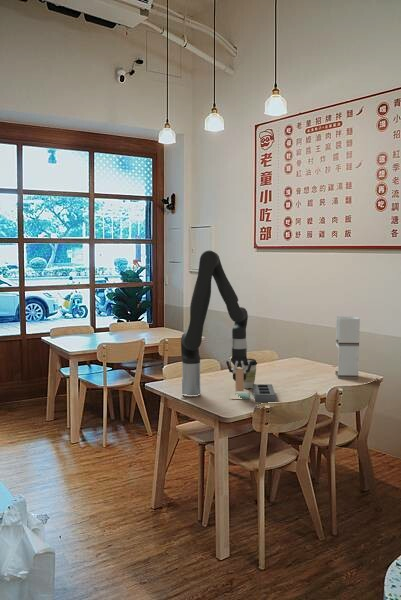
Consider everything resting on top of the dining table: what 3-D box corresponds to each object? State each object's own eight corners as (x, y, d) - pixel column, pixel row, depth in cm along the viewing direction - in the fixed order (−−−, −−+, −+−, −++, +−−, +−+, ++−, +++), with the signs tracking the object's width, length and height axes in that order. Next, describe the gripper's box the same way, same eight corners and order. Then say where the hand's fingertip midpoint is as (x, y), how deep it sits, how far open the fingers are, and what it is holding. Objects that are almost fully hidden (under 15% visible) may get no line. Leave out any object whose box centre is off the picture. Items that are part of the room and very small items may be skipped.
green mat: (229, 399, 267) (229, 398, 267) (229, 394, 277) (229, 393, 277) (249, 399, 267) (249, 398, 267) (248, 394, 277) (248, 393, 277)
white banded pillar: (354, 374, 318) (356, 316, 315) (358, 379, 308) (359, 318, 304) (335, 374, 319) (336, 316, 316) (338, 378, 309) (339, 318, 305)
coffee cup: (242, 390, 285) (242, 362, 283) (236, 385, 294) (236, 358, 293) (259, 388, 287) (260, 361, 286) (253, 384, 297) (253, 357, 295)
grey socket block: (255, 402, 262) (255, 394, 262) (252, 391, 282) (252, 384, 281) (275, 402, 262) (275, 394, 261) (271, 391, 281) (271, 384, 281)
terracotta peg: (235, 391, 270) (235, 369, 269) (235, 389, 274) (235, 368, 273) (243, 391, 270) (243, 369, 269) (243, 389, 274) (243, 368, 273)
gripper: (252, 345, 273) (252, 378, 275) (225, 345, 274) (225, 378, 275) (253, 348, 266) (253, 382, 268) (225, 348, 266) (225, 382, 268)
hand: (239, 380), depth 272 cm, fingers closed on terracotta peg, 4 cm apart
